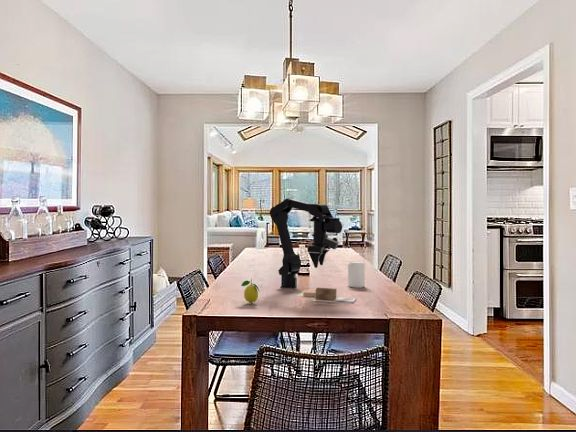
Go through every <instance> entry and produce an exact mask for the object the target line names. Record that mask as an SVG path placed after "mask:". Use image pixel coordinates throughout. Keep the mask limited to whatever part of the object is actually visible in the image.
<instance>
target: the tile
mask: <svg viewBox="0 0 576 432" xmlns="http://www.w3.org/2000/svg"><path fill="white" fill-rule="evenodd" d="M304 291H305V292H303V291H302V292H303V296H312V297H311V298H316V289H313V288H312V289H309V288H308V289H305V290H304ZM303 296H302V297H303Z"/></svg>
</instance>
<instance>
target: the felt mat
mask: <svg viewBox="0 0 576 432" xmlns="http://www.w3.org/2000/svg"><path fill="white" fill-rule="evenodd" d="M305 291H306V290H304V291H301V292H300V293H299V294H297V295H296V297H304V298H305V297H306V298H313V297H312V296H303V292H305Z"/></svg>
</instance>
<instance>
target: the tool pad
mask: <svg viewBox="0 0 576 432" xmlns="http://www.w3.org/2000/svg"><path fill="white" fill-rule="evenodd" d="M313 301H314V302H327V303H335V302H334V301H329V300H316V297H314V299H312V302H313ZM338 303H340V304H341V303H342V304H345V303H344V302H338Z"/></svg>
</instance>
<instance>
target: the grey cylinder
mask: <svg viewBox="0 0 576 432" xmlns="http://www.w3.org/2000/svg"><path fill="white" fill-rule="evenodd" d="M348 262H349V263H348V264H347V265H348V266H347V286H348V287H350V288H353V289H354V288H356V289H360V288H363V287H365V286H366V281H365V280H366V264H365V262H364V261H360V260H351V261H348Z"/></svg>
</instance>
